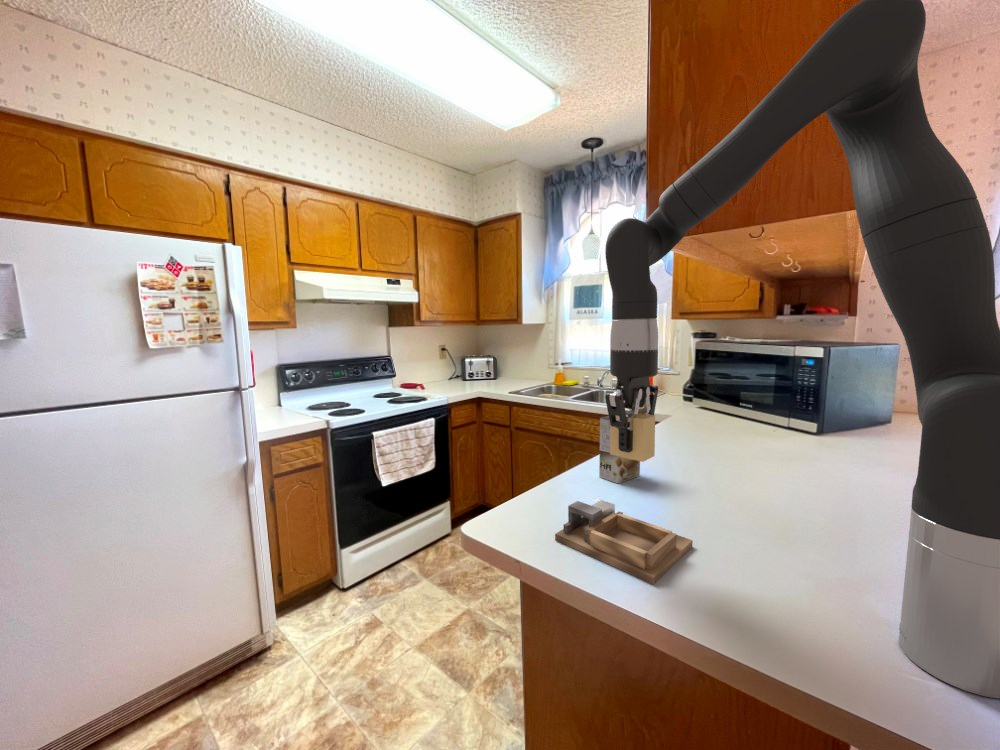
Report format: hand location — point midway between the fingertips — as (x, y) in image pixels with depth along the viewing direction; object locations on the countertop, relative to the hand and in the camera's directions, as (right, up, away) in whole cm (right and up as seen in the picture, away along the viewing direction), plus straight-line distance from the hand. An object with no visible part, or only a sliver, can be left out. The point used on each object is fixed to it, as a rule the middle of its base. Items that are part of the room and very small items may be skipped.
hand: (632, 447), depth 69 cm
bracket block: (0, -1, 0) cm, 1 cm away
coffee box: (+9, -15, +38) cm, 41 cm away
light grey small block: (-3, -16, +11) cm, 20 cm away
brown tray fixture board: (0, -18, +5) cm, 19 cm away
